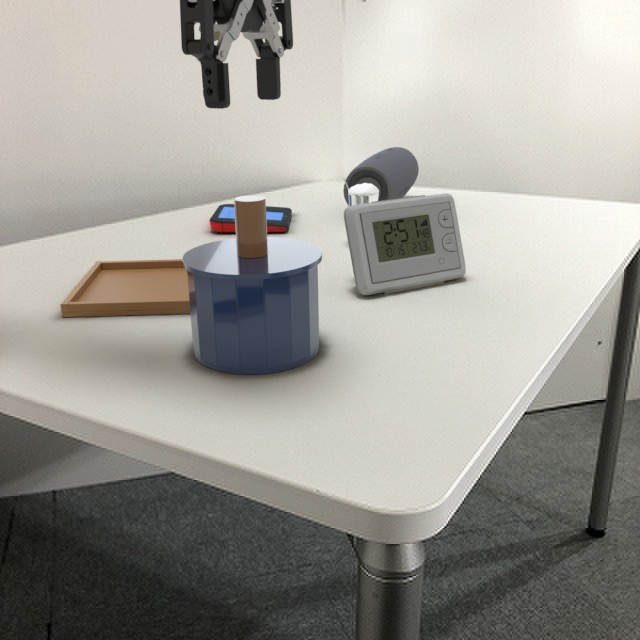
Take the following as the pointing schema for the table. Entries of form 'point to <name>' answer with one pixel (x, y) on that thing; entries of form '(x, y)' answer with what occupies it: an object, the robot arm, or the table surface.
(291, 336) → the pot
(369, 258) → the digital clock
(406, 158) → the bluetooth speaker
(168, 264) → the wooden tray
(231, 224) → the game console
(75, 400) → the table surface
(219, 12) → the robot arm
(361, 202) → the milkshake
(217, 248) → the pot lid
